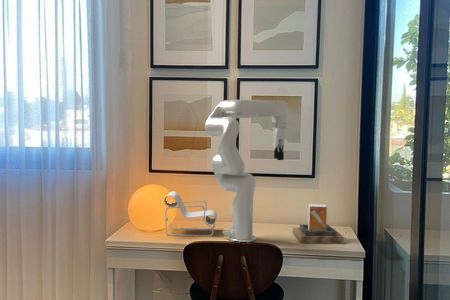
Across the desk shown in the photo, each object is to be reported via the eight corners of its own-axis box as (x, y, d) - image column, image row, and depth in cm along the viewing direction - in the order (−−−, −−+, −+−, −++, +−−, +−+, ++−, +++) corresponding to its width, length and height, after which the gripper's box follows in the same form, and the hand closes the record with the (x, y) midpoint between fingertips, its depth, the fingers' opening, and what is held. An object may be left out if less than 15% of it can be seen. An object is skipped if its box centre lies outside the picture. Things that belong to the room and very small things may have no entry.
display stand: (300, 243, 201) (300, 232, 201) (292, 233, 219) (292, 223, 219) (343, 243, 202) (343, 232, 202) (332, 233, 220) (332, 223, 220)
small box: (308, 233, 208) (309, 206, 207) (307, 230, 214) (308, 203, 213) (326, 234, 207) (327, 206, 206) (324, 230, 213) (325, 204, 212)
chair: (168, 228, 227) (168, 191, 226) (216, 229, 226) (217, 191, 225) (164, 235, 213) (164, 195, 212) (215, 236, 213) (215, 196, 212)
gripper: (269, 125, 234) (269, 157, 235) (274, 126, 217) (274, 160, 218) (283, 125, 234) (283, 157, 235) (289, 126, 217) (289, 160, 218)
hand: (278, 159), depth 227 cm, fingers open, 9 cm apart
